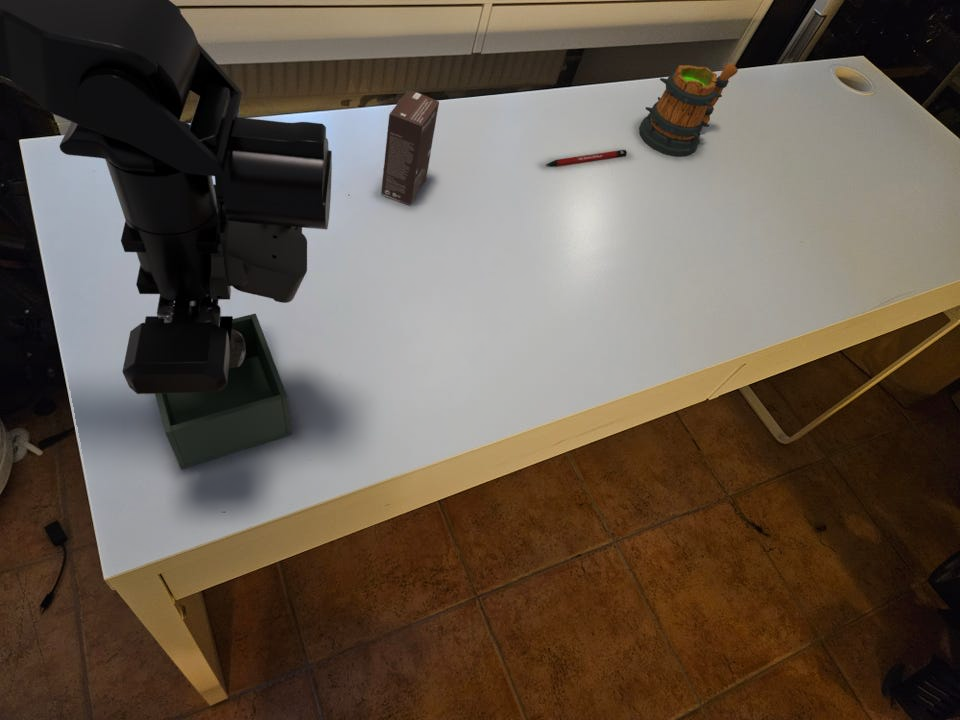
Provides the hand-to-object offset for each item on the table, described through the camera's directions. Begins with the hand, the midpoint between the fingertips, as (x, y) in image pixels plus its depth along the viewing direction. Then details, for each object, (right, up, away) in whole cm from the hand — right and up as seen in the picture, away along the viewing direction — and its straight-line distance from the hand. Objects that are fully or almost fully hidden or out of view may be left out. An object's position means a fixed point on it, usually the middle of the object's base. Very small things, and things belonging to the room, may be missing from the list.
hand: (207, 347), depth 55 cm
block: (0, -1, +1) cm, 1 cm away
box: (+13, +21, +31) cm, 40 cm away
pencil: (+38, +28, +41) cm, 63 cm away
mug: (+54, +34, +49) cm, 81 cm away
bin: (-1, -6, +8) cm, 10 cm away
